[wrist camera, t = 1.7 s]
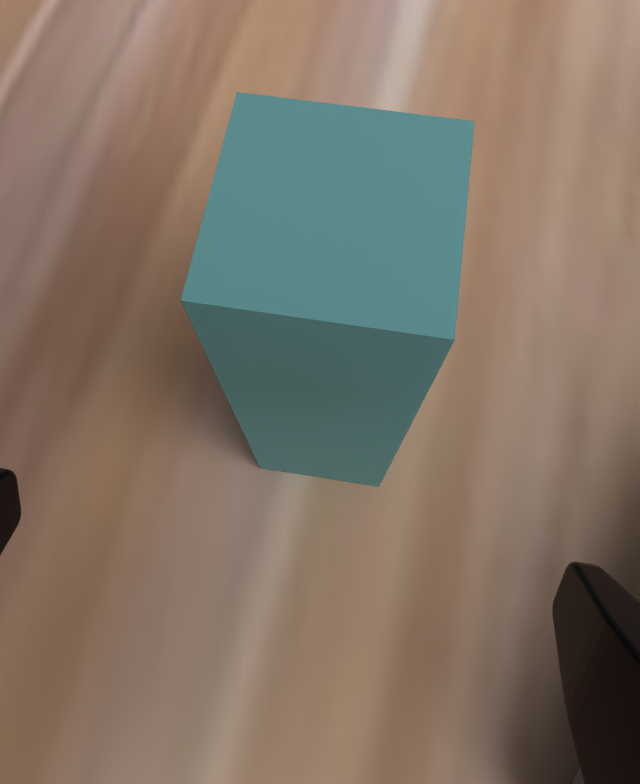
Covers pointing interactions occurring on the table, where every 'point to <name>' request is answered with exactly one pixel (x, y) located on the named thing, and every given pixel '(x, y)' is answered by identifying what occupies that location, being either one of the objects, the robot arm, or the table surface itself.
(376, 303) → the handle block
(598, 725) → the robot arm
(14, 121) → the table surface
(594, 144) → the table surface
